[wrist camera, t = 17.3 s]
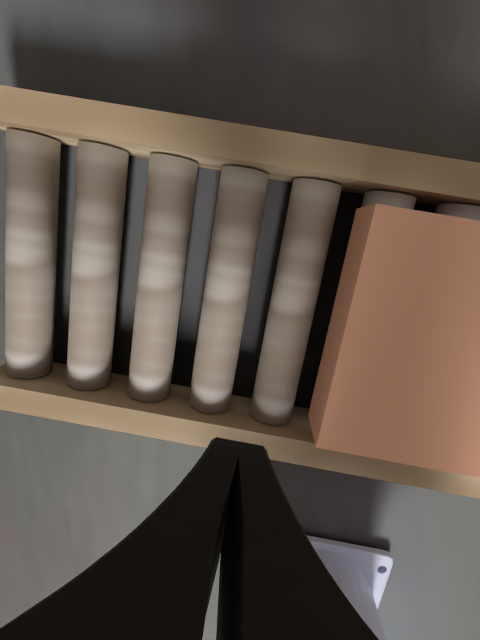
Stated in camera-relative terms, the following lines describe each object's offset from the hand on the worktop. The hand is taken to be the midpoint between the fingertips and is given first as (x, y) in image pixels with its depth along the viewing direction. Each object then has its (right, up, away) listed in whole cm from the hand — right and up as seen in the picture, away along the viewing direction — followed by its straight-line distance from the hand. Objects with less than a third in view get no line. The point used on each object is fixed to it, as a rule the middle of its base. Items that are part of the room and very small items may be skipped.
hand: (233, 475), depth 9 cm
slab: (+9, +3, +6) cm, 11 cm away
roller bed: (+5, +5, +8) cm, 10 cm away
